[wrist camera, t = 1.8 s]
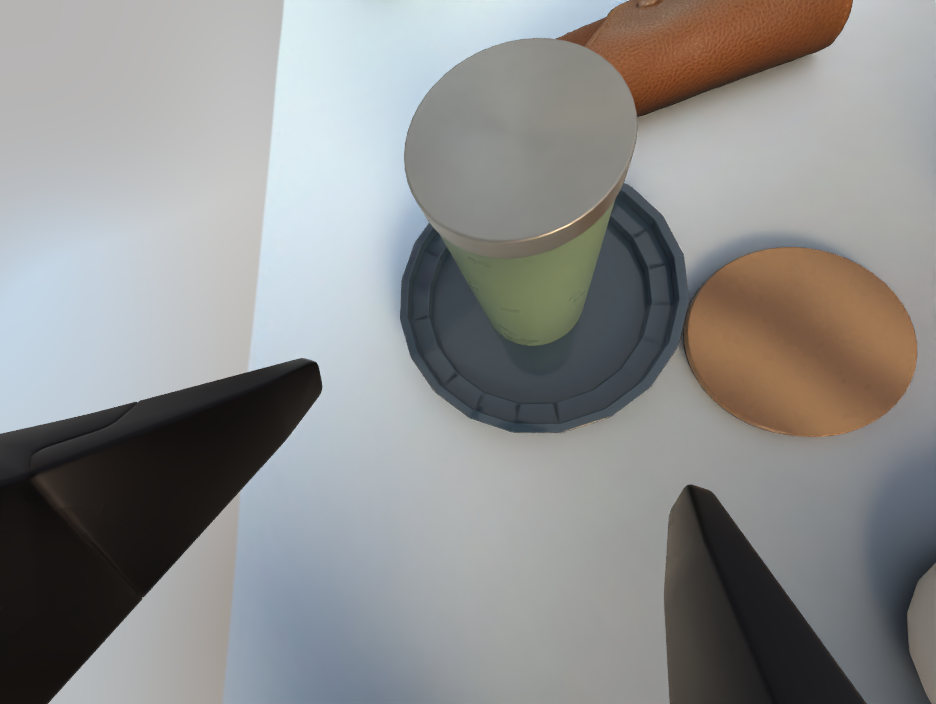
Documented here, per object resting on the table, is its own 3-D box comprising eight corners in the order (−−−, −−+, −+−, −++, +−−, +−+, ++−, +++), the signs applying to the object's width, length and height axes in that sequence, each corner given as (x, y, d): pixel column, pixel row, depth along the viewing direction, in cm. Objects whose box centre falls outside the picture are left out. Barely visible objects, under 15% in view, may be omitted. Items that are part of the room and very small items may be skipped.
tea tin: (547, 367, 21) (545, 286, 9) (463, 313, 23) (361, 180, 10) (607, 281, 21) (689, 80, 9) (519, 233, 23) (485, 11, 11)
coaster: (839, 478, 18) (849, 480, 17) (647, 364, 20) (650, 362, 20) (948, 311, 18) (961, 307, 17) (744, 221, 21) (750, 216, 20)
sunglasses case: (762, -45, 23) (865, -149, 17) (772, 78, 25) (867, 27, 19) (493, 72, 26) (494, 20, 20) (521, 174, 28) (530, 157, 22)
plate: (572, 491, 20) (575, 497, 18) (367, 337, 25) (351, 329, 23) (732, 257, 21) (751, 239, 19) (502, 148, 25) (498, 126, 23)
